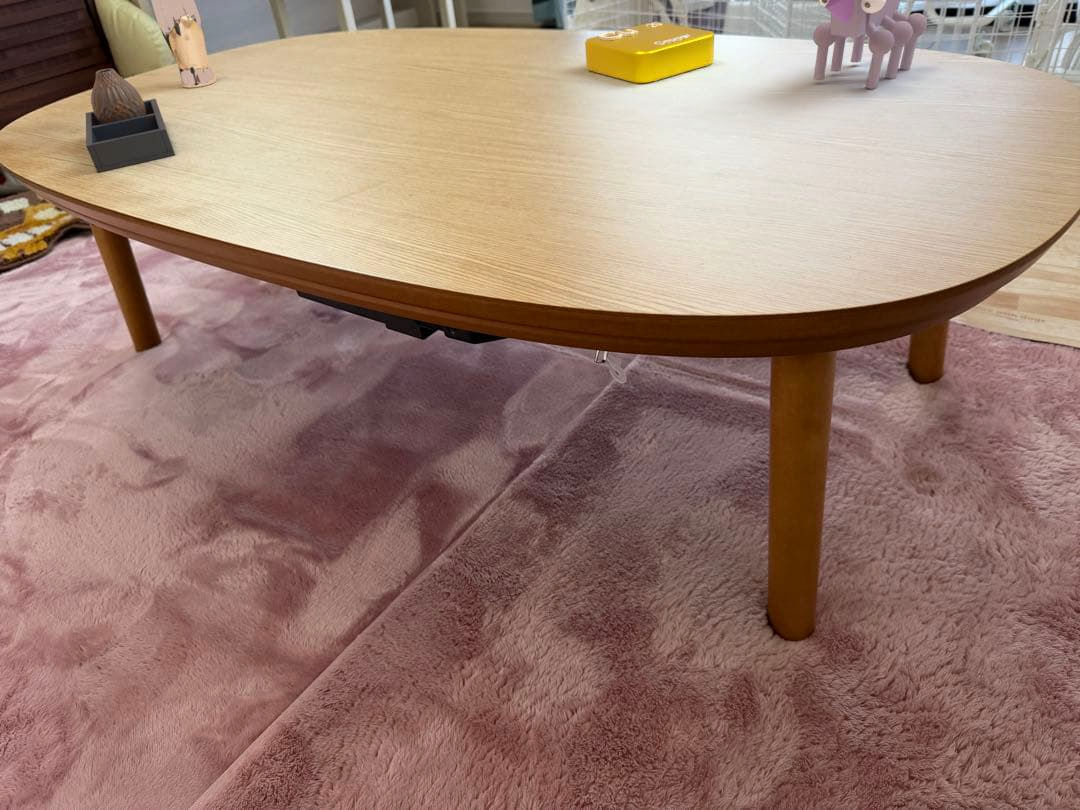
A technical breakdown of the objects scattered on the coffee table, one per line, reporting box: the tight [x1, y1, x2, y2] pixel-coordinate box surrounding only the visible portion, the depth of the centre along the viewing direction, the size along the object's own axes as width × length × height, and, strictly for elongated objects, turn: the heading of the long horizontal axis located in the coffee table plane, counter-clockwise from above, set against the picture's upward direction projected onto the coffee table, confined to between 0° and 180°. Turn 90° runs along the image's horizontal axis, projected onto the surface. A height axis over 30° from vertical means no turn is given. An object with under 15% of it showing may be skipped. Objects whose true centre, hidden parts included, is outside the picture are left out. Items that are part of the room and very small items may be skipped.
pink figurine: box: [812, 0, 928, 90], centre depth 103 cm, size 20×11×14 cm, turn 135°
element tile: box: [584, 21, 715, 84], centre depth 123 cm, size 15×15×5 cm
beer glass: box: [150, 0, 218, 89], centre depth 140 cm, size 7×7×15 cm
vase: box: [90, 68, 147, 125], centre depth 117 cm, size 7×7×9 cm
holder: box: [85, 98, 176, 173], centre depth 116 cm, size 10×19×4 cm, turn 26°
